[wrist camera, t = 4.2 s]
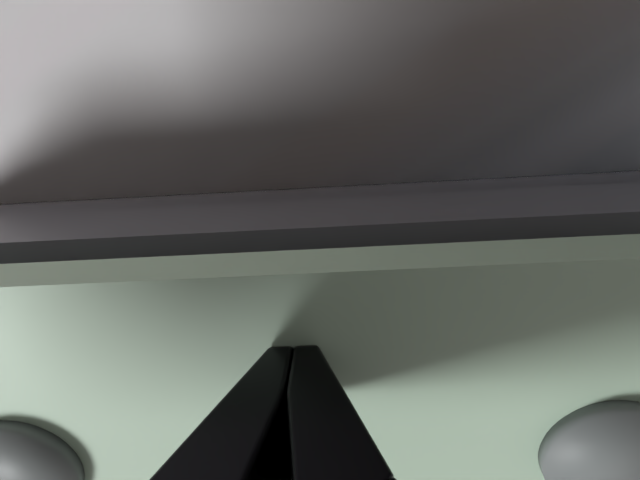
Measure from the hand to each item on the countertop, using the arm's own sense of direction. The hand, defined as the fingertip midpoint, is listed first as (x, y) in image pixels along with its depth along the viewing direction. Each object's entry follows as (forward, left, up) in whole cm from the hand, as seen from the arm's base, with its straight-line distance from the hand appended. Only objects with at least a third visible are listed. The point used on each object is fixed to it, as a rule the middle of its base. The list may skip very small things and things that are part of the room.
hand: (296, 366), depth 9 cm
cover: (-4, 0, -1) cm, 4 cm away
